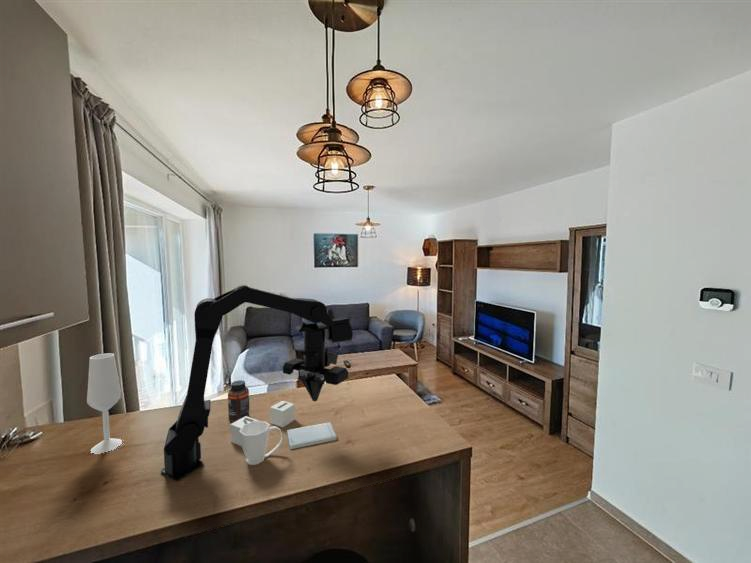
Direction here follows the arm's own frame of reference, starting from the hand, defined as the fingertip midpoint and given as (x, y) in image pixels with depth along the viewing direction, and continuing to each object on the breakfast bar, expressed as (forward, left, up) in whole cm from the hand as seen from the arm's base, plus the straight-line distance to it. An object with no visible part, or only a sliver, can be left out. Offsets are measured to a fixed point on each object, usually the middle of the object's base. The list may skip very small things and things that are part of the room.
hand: (315, 400), depth 87 cm
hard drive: (-1, 0, -11) cm, 11 cm away
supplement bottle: (-4, +26, -10) cm, 28 cm away
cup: (-14, +5, -10) cm, 18 cm away
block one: (+1, +13, -10) cm, 16 cm away
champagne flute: (-30, +44, -10) cm, 54 cm away
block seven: (-11, +15, -10) cm, 21 cm away
